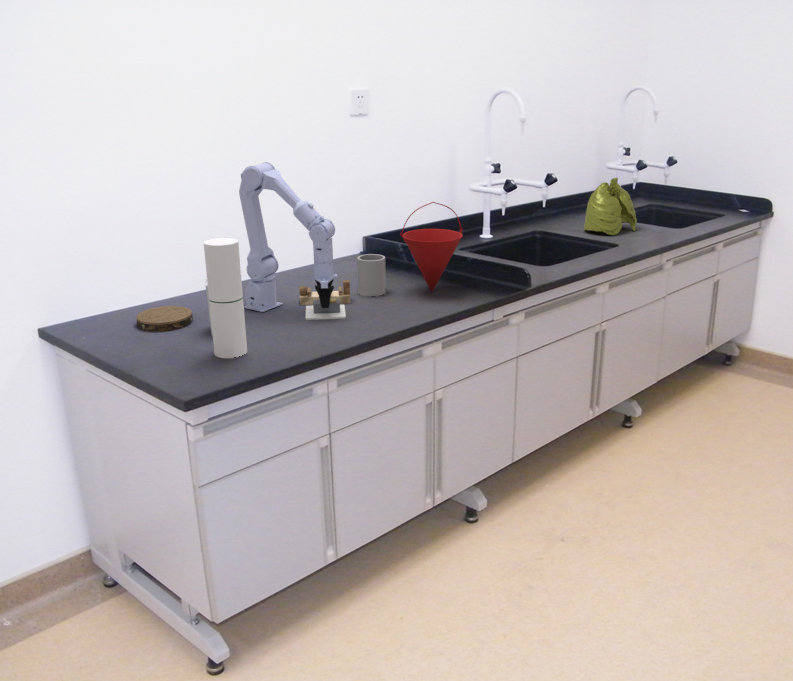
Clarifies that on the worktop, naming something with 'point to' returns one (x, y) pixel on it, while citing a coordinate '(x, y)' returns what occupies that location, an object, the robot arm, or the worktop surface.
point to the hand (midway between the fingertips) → (325, 304)
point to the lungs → (609, 209)
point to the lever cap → (333, 308)
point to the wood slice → (164, 318)
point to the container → (225, 297)
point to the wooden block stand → (342, 294)
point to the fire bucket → (432, 249)
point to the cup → (371, 275)
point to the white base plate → (324, 314)
